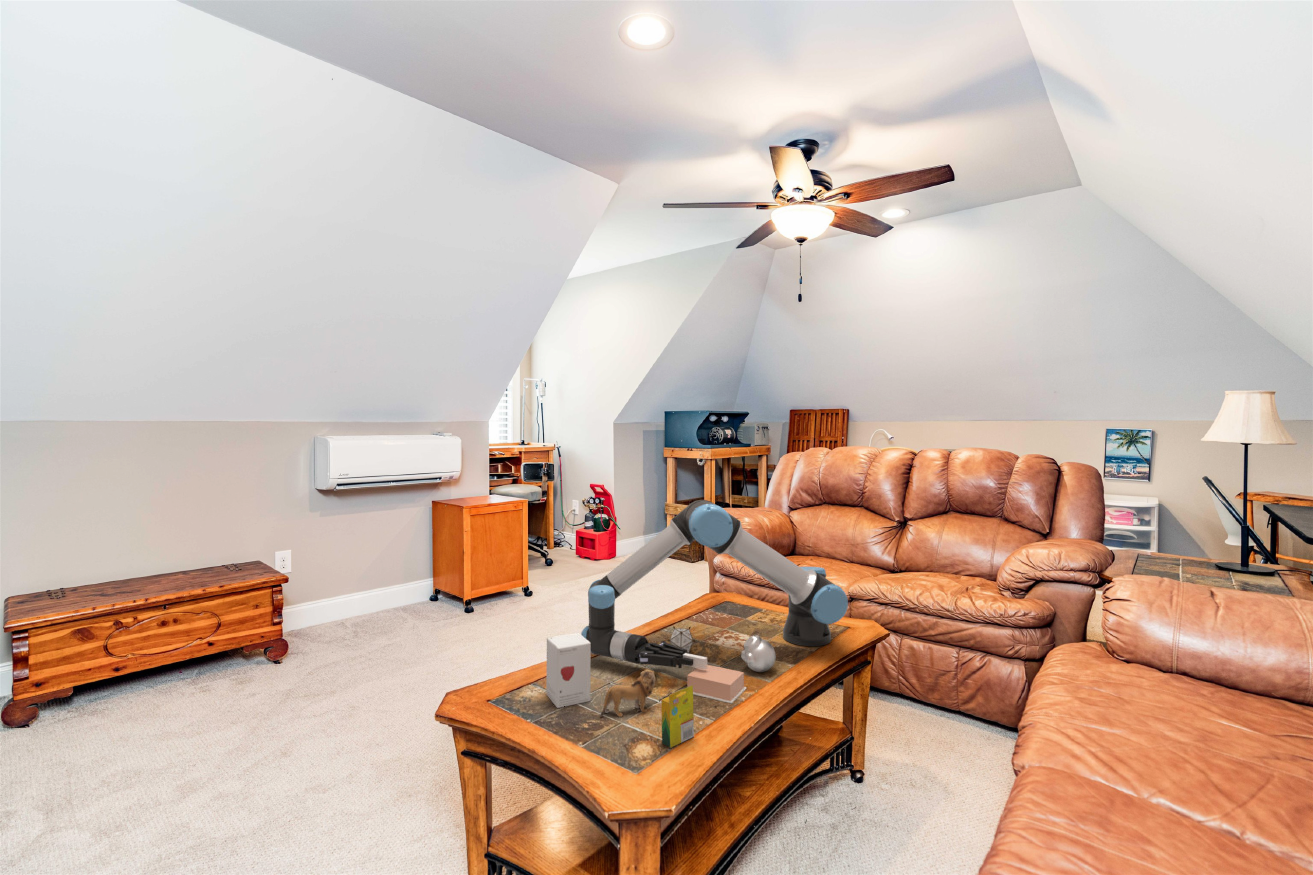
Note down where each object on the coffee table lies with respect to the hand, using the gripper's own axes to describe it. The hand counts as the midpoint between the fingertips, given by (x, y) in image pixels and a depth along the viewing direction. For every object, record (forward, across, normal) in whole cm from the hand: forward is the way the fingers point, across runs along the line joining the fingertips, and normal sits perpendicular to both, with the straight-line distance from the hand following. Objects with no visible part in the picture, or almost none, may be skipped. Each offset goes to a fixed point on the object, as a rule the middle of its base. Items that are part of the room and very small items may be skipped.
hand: (705, 663), depth 163 cm
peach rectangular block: (-3, 0, -4) cm, 5 cm away
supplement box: (-28, +23, -7) cm, 36 cm away
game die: (-17, -18, -7) cm, 26 cm away
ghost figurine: (+8, -18, -7) cm, 20 cm away
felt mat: (+3, 0, -6) cm, 7 cm away
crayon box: (+6, +27, -7) cm, 29 cm away
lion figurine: (-11, +20, -7) cm, 24 cm away
